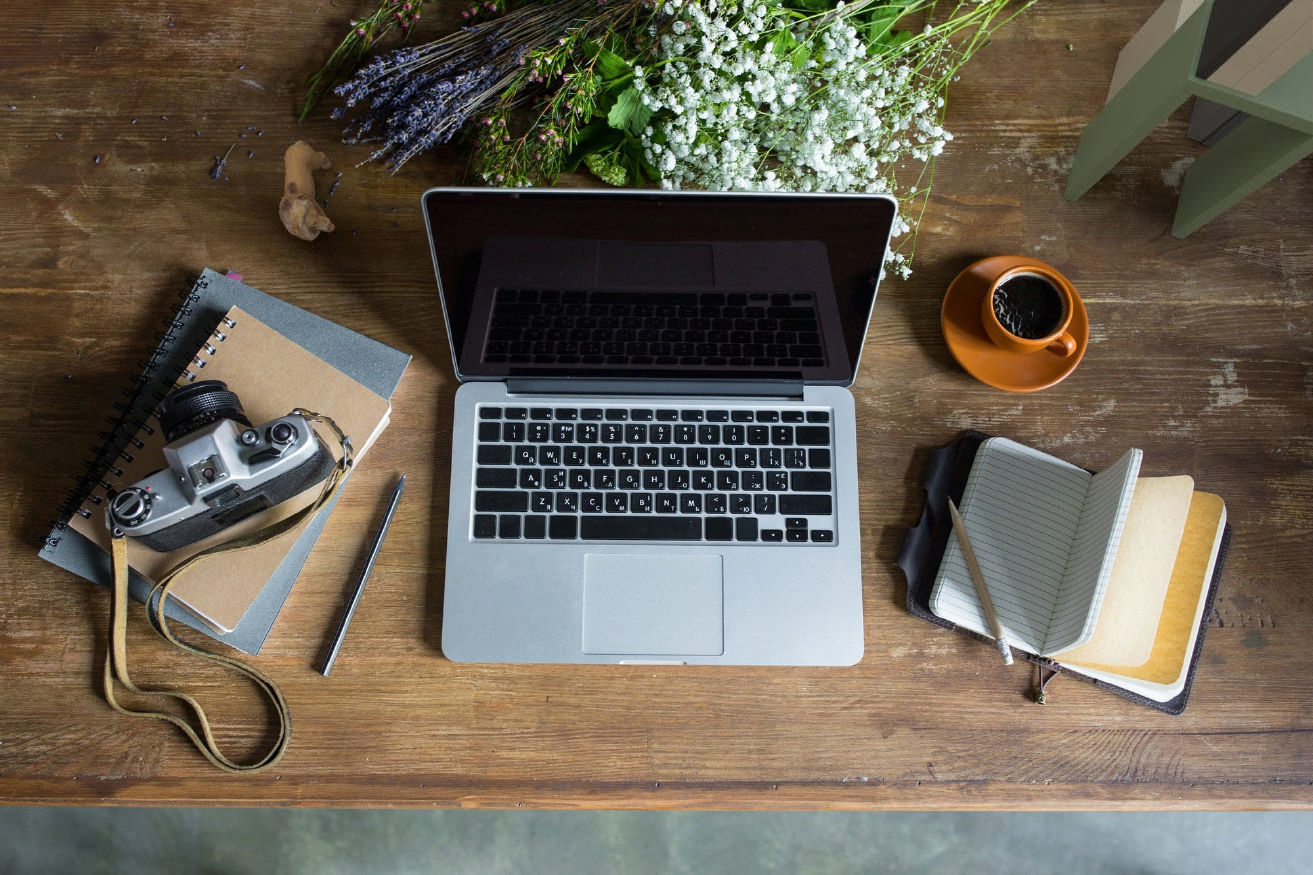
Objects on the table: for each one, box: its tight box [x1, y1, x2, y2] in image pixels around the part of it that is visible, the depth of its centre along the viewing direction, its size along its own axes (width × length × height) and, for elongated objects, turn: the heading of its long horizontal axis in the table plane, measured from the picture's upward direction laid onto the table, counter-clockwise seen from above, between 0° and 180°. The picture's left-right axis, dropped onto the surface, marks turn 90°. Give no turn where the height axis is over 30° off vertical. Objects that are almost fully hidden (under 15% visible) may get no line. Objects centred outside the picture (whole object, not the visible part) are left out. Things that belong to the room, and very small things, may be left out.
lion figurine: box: [278, 140, 336, 242], centre depth 88 cm, size 15×5×9 cm, turn 15°
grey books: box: [1185, 95, 1252, 149], centre depth 93 cm, size 4×9×12 cm, turn 160°
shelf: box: [1062, 0, 1313, 241], centre depth 86 cm, size 15×10×22 cm, turn 70°
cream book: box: [1103, 0, 1205, 108], centre depth 93 cm, size 2×9×13 cm, turn 160°
